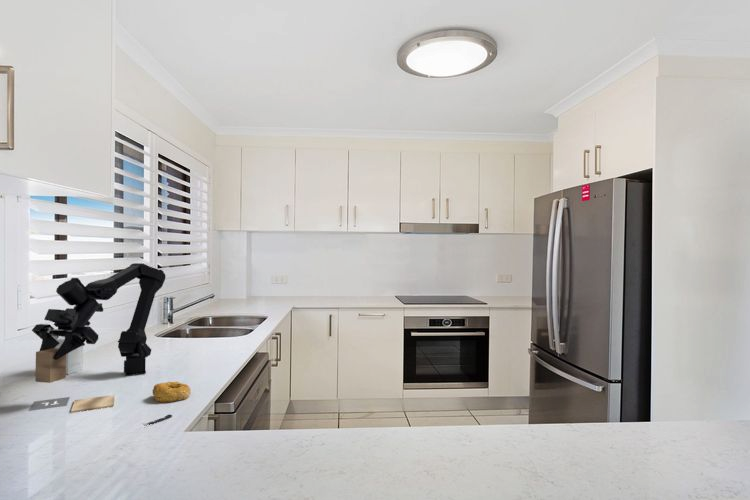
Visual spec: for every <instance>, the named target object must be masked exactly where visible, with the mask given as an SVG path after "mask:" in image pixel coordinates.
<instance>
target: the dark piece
mask: <svg viewBox="0 0 750 500" xmlns="http://www.w3.org/2000/svg"><path fill="white" fill-rule="evenodd" d="M171 418H173V415H172V414H166V415H165V416H163V417H160V418H158V419H155V420H153V421H149V422H146V423H142V424H143V425H144V426H147V425H150V424H152V425H154V423H155V424H158V423H160V422H163V421H166V420H168V419H171ZM157 422H158V423H157ZM150 426H151V425H150ZM147 427H148V426H147Z"/></svg>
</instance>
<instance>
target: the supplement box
mask: <svg viewBox="0 0 750 500" xmlns="http://www.w3.org/2000/svg"><path fill="white" fill-rule="evenodd" d="M64 340H65V337H61V336H59V337H58V338H57V341H58V342H59V343H60V344H58V345H57V346H56V347H55V348H58V349H59V348H60V346H61V345H62V343H63V342H64ZM83 368H84V346H81V347H79V348H77V349H75V350H73V351H71V352H69V353H68V354H66V375H70V374H73V373H76V372H79V371H81V370H83Z"/></svg>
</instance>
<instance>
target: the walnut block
mask: <svg viewBox="0 0 750 500" xmlns="http://www.w3.org/2000/svg"><path fill="white" fill-rule="evenodd" d="M57 351H58V348H50V349H46V350H42V351H40V350H39V351H38V350H37V351H35V375H34V377H35V379H34V380H35V382H36V383H46V384H47V383H48V384H50V383H54V382H57V381H61V380H63V379H66V377H67V374H66V355H64V356H62V357H61V358H59V359H57V360H55V359H54V358H53V357H54V356H55V354H56V352H57Z"/></svg>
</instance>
